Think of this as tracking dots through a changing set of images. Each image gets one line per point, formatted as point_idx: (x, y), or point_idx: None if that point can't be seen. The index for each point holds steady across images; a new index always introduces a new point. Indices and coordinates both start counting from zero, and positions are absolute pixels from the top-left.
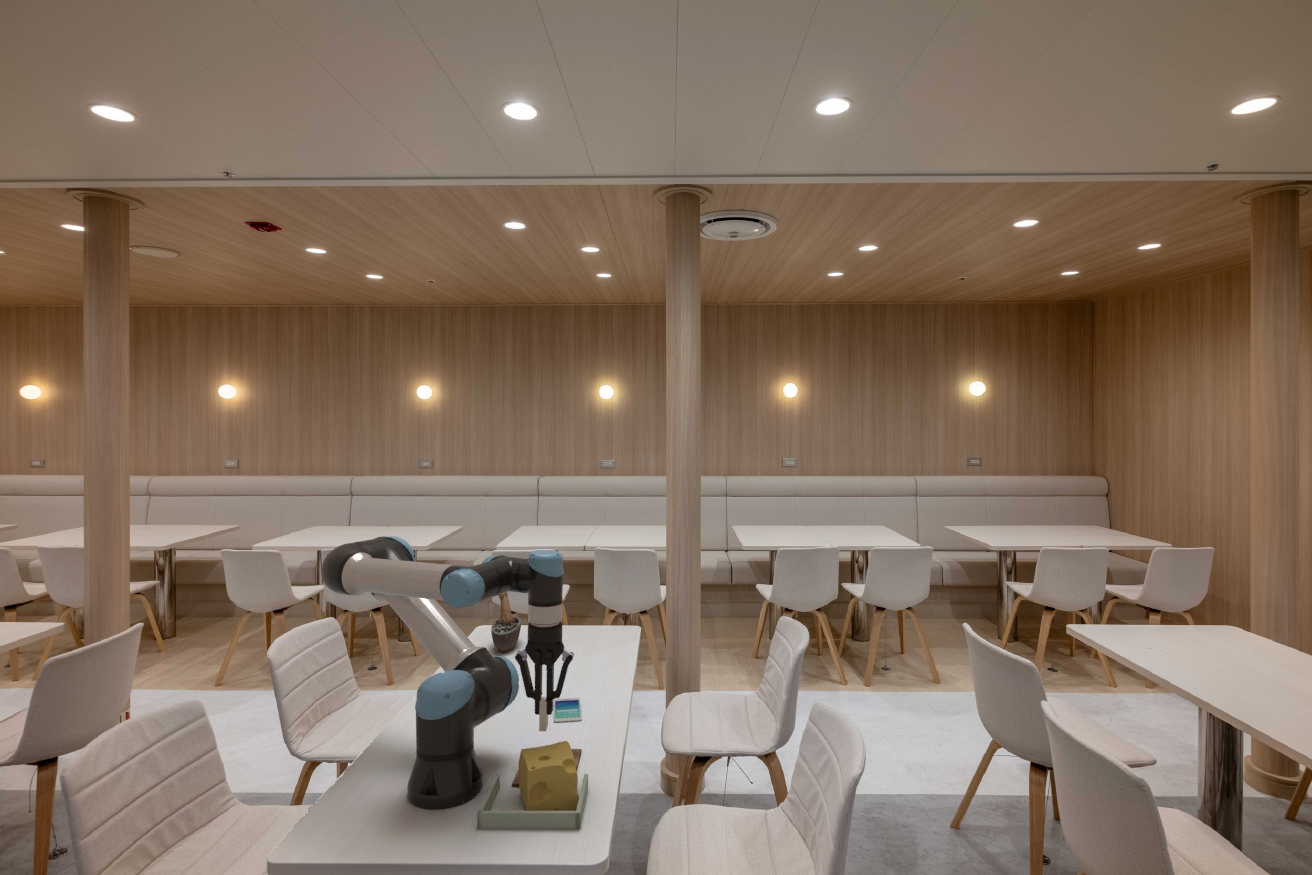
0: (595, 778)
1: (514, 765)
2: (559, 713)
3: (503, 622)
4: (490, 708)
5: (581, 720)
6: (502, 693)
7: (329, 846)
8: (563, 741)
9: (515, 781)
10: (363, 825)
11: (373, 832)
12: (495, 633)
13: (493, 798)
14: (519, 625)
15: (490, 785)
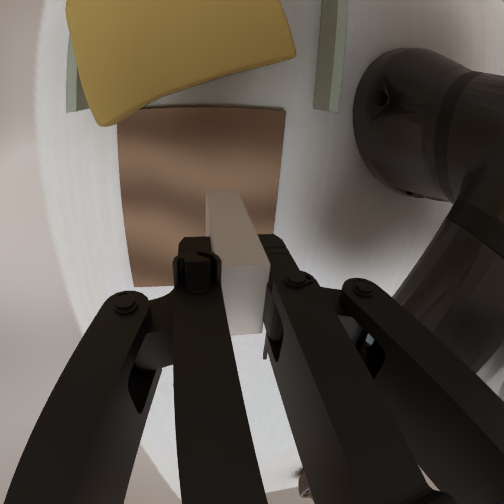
0: (70, 158)
1: (288, 213)
2: None
3: None
4: (464, 238)
5: (173, 384)
6: (438, 324)
7: (497, 18)
8: (112, 115)
9: (278, 122)
10: (485, 48)
11: (472, 24)
12: None
13: (322, 46)
14: (301, 493)
15: (343, 54)
